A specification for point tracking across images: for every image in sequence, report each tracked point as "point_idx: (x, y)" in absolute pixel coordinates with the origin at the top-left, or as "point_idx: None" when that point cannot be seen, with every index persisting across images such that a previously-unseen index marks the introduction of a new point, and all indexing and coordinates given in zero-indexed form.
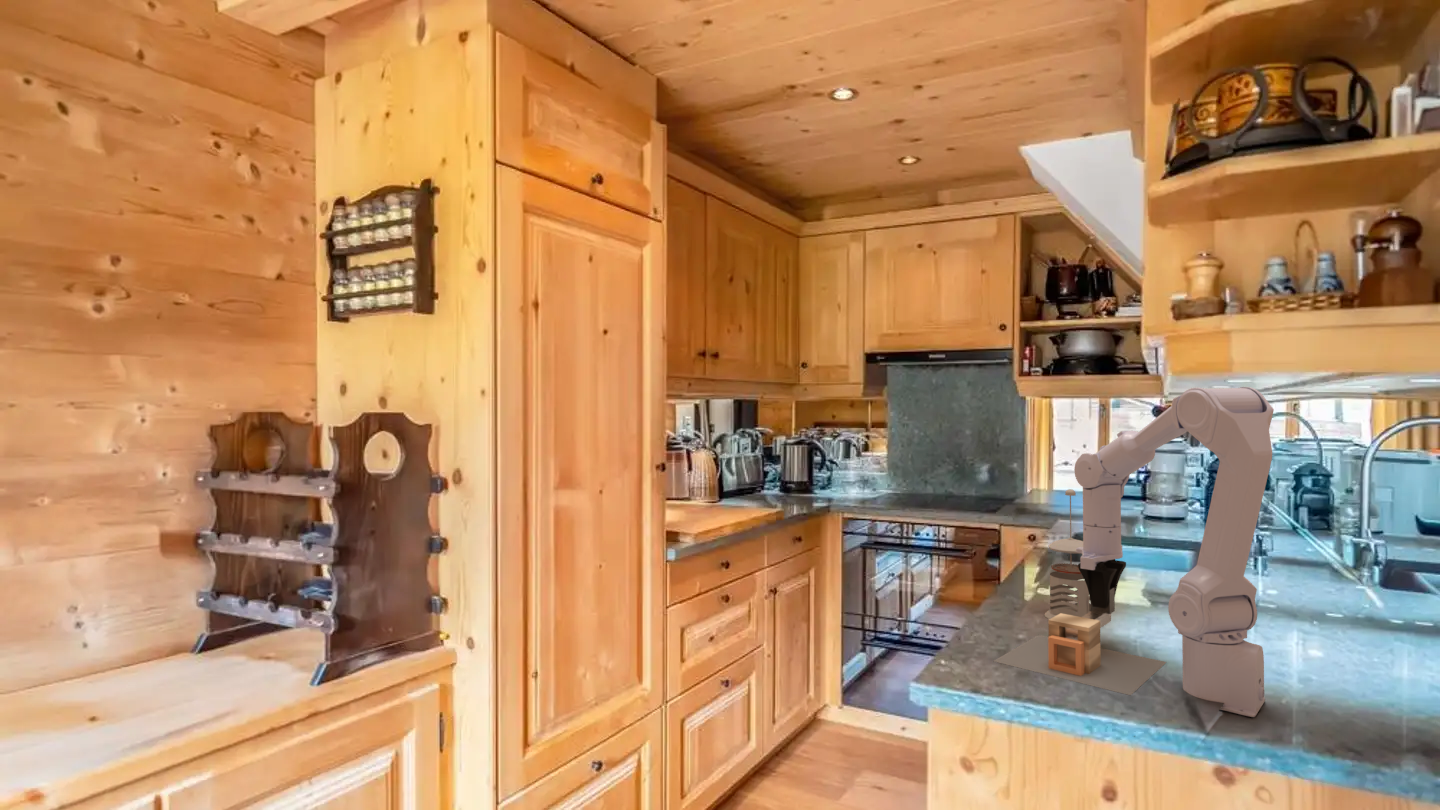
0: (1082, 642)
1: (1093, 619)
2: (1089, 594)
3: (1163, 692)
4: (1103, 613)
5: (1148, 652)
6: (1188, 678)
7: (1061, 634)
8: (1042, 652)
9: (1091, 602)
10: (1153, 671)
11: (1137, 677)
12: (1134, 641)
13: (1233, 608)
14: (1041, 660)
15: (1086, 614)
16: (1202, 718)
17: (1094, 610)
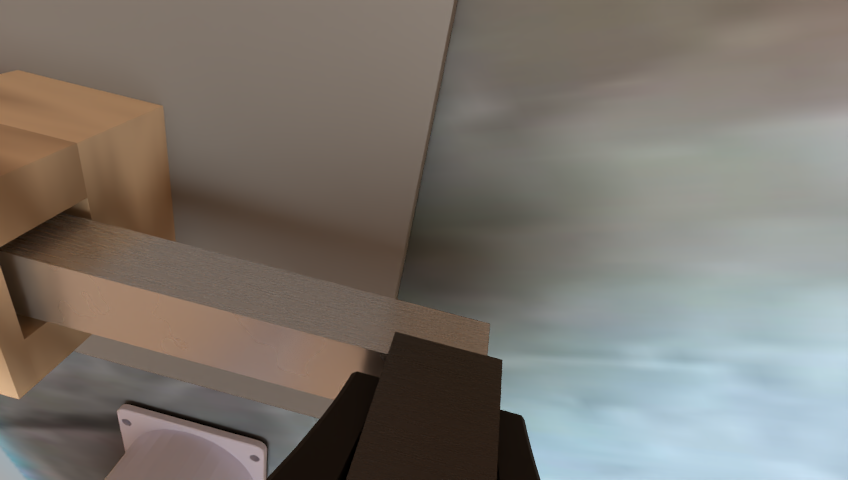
0: None
1: (8, 373)
2: (309, 432)
3: (158, 385)
4: (331, 397)
5: (532, 386)
6: (109, 476)
7: None
8: (149, 7)
9: (342, 388)
10: (242, 393)
11: (151, 353)
12: (677, 356)
13: None
14: (36, 26)
15: (238, 316)
16: (65, 430)
17: (373, 358)
